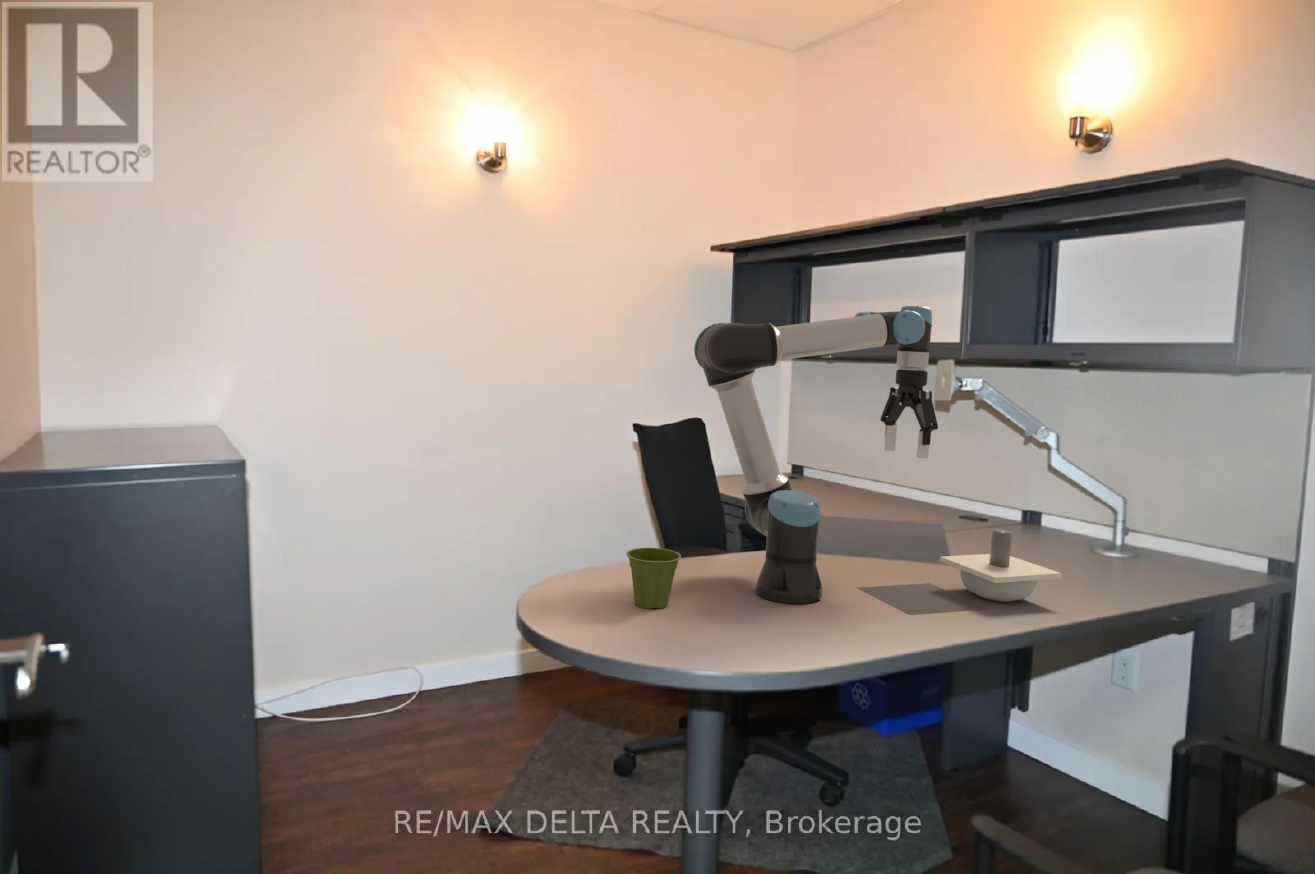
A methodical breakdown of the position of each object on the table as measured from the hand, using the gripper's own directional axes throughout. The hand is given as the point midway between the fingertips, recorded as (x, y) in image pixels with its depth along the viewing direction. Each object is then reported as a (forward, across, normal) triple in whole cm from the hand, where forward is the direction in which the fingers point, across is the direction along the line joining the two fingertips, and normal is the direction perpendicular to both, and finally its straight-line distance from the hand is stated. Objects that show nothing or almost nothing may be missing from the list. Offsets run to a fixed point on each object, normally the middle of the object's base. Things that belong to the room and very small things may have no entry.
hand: (905, 454), depth 215 cm
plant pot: (+32, -9, +69) cm, 77 cm away
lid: (+25, -20, -14) cm, 35 cm away
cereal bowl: (+32, -20, -14) cm, 40 cm away
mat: (+32, -18, +6) cm, 37 cm away
